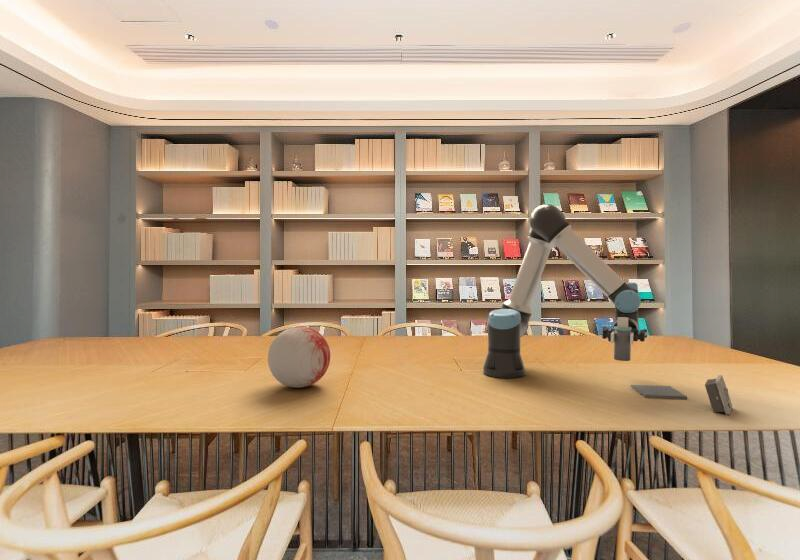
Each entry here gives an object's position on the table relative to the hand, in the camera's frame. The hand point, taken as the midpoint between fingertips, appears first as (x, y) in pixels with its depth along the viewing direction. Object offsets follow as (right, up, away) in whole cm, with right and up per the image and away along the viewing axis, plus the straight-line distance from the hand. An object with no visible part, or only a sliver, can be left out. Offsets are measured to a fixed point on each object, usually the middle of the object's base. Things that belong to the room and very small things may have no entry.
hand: (621, 339), depth 140 cm
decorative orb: (-100, -18, +15) cm, 102 cm away
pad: (+15, -18, +8) cm, 25 cm away
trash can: (+2, -7, +5) cm, 9 cm away
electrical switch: (+23, -19, -9) cm, 31 cm away
